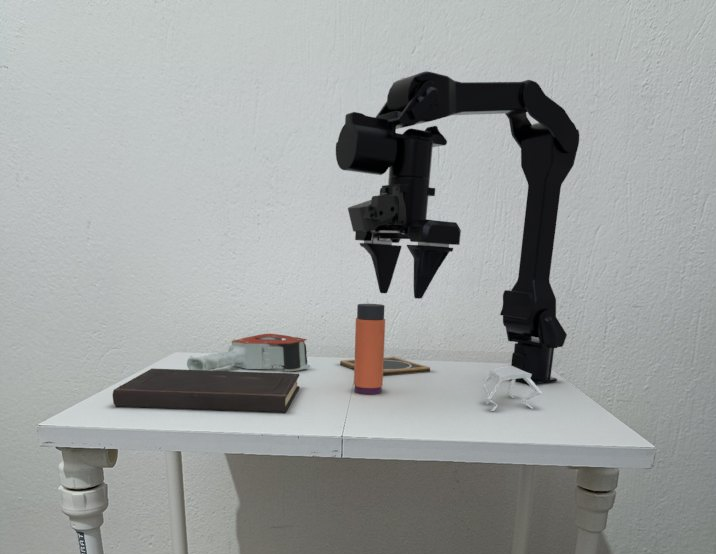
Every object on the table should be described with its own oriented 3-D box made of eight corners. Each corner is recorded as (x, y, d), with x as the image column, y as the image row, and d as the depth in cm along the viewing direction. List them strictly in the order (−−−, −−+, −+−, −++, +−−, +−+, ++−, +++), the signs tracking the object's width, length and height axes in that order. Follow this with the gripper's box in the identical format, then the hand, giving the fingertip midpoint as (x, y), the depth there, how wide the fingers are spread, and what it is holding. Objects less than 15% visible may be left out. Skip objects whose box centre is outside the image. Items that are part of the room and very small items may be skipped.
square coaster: (394, 360, 129) (394, 356, 129) (430, 371, 119) (430, 367, 119) (340, 364, 123) (340, 360, 123) (373, 376, 114) (373, 371, 113)
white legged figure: (543, 414, 91) (548, 379, 90) (482, 411, 92) (486, 376, 90) (530, 395, 103) (534, 364, 101) (475, 393, 103) (478, 361, 102)
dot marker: (372, 387, 105) (375, 303, 101) (387, 393, 102) (391, 306, 97) (348, 389, 103) (350, 303, 99) (362, 395, 99) (365, 306, 95)
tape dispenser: (186, 383, 111) (305, 379, 110) (181, 352, 109) (303, 347, 108) (209, 360, 127) (313, 357, 126) (205, 332, 125) (311, 328, 124)
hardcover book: (152, 383, 103) (151, 368, 103) (299, 388, 103) (299, 373, 102) (113, 407, 88) (111, 390, 87) (285, 413, 88) (285, 396, 87)
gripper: (326, 176, 95) (321, 289, 100) (396, 167, 80) (387, 300, 85) (391, 185, 101) (384, 291, 106) (469, 177, 85) (456, 301, 90)
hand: (400, 295), depth 97 cm, fingers open, 9 cm apart
